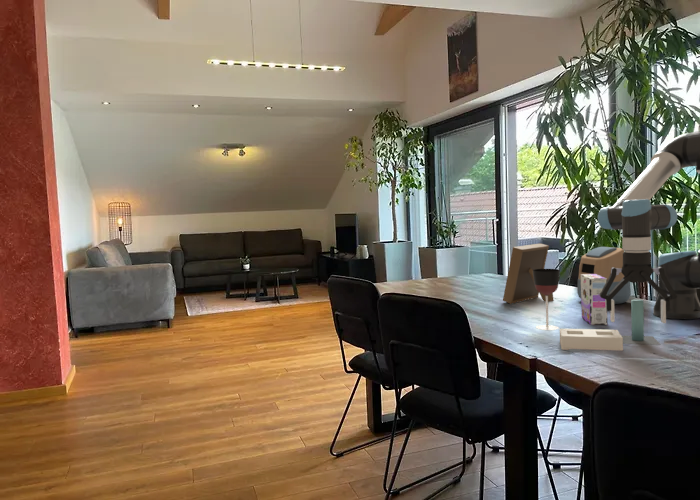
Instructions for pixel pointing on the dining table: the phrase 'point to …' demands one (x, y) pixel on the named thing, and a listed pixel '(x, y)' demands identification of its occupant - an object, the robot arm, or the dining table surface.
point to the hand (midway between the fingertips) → (637, 321)
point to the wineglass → (546, 288)
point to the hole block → (591, 339)
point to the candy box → (593, 299)
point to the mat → (646, 341)
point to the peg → (637, 320)
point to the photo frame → (525, 273)
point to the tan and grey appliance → (605, 269)
